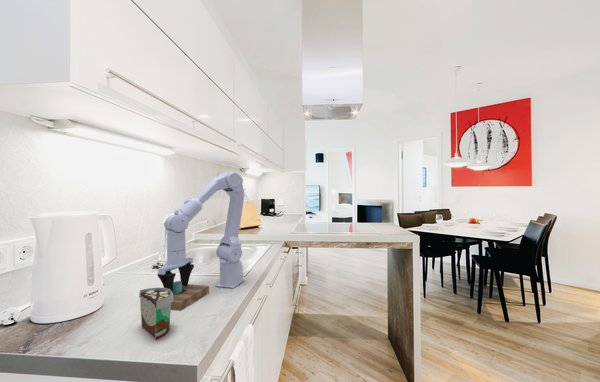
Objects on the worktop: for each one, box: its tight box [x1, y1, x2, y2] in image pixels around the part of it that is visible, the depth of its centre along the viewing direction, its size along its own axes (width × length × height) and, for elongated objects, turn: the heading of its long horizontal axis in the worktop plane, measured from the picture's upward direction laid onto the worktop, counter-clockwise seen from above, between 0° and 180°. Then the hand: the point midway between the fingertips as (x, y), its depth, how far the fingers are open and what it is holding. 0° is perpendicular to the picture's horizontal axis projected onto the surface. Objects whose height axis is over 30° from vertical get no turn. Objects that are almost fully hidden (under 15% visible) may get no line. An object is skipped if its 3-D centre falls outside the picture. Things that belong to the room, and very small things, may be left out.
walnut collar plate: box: [171, 283, 210, 311], centre depth 94 cm, size 15×15×2 cm
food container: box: [138, 287, 174, 341], centre depth 74 cm, size 12×6×10 cm, turn 48°
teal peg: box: [172, 280, 182, 295], centre depth 94 cm, size 4×4×6 cm
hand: (177, 289), depth 94 cm, fingers open, 7 cm apart
